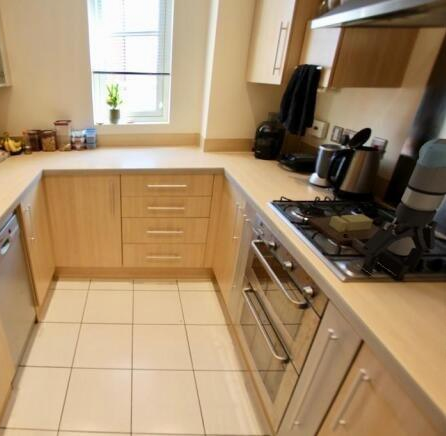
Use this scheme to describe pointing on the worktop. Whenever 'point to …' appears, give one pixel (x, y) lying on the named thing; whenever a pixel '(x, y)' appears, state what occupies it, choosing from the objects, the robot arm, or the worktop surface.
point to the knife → (386, 261)
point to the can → (401, 246)
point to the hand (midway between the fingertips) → (386, 270)
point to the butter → (357, 222)
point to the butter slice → (338, 223)
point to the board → (335, 235)
